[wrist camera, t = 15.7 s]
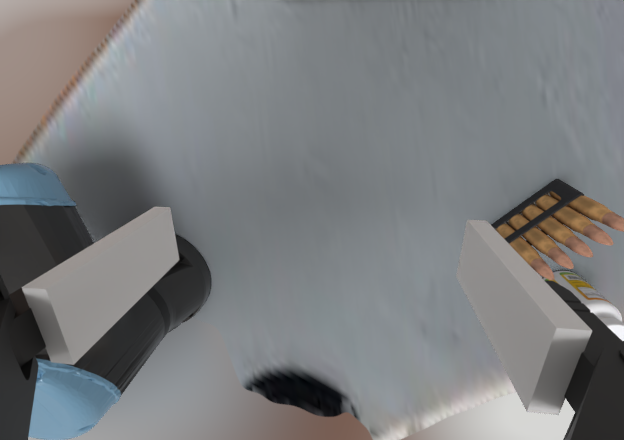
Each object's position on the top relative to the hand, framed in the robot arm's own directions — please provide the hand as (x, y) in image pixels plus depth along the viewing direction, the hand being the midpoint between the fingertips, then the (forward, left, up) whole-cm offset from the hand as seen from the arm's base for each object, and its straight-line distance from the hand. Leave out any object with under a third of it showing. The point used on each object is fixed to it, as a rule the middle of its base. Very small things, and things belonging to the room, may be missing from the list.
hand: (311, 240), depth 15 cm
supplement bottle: (+29, -18, -27) cm, 43 cm away
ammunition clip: (+22, -8, -27) cm, 36 cm away
